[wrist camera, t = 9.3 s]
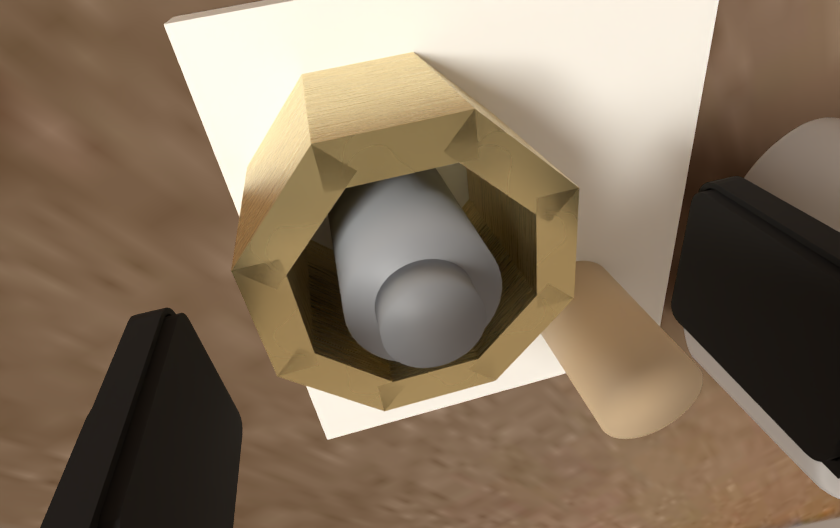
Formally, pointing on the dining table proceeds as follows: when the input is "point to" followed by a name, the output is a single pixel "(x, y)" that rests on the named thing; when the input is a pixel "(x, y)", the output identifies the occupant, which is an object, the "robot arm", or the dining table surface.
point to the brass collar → (377, 160)
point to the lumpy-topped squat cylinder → (818, 197)
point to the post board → (448, 187)
